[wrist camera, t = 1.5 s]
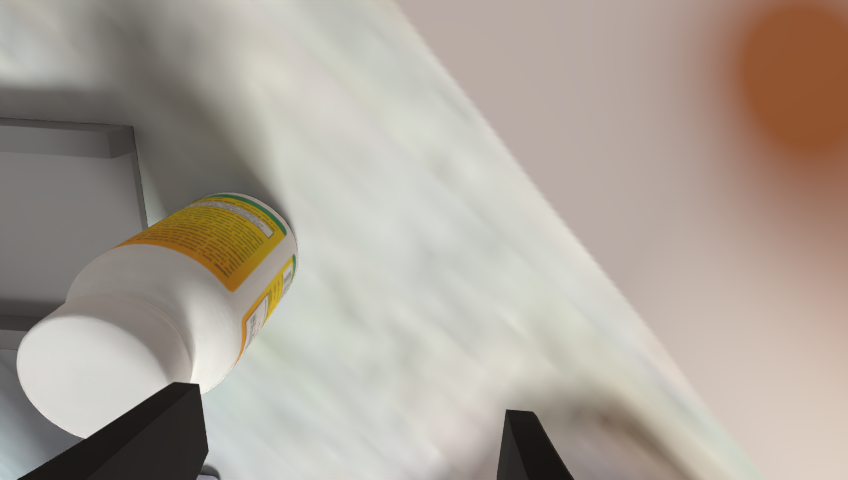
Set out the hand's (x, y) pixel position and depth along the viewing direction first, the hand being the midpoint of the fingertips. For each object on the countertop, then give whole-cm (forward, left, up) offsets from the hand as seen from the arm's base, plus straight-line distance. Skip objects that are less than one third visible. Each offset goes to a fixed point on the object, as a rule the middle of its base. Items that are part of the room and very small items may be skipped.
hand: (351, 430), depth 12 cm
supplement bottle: (0, +7, -11) cm, 13 cm away
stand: (0, +16, -11) cm, 20 cm away
